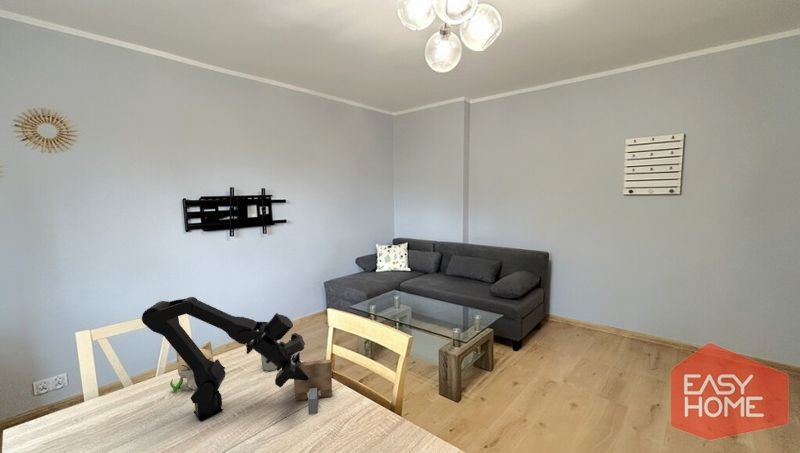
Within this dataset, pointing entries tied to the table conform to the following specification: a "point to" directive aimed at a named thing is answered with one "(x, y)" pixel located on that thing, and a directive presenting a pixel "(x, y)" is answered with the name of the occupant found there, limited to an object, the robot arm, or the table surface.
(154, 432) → the table surface
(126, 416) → the table surface
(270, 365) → the can
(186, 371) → the kitten
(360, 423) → the table surface
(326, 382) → the walnut plate
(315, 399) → the charcoal rail
